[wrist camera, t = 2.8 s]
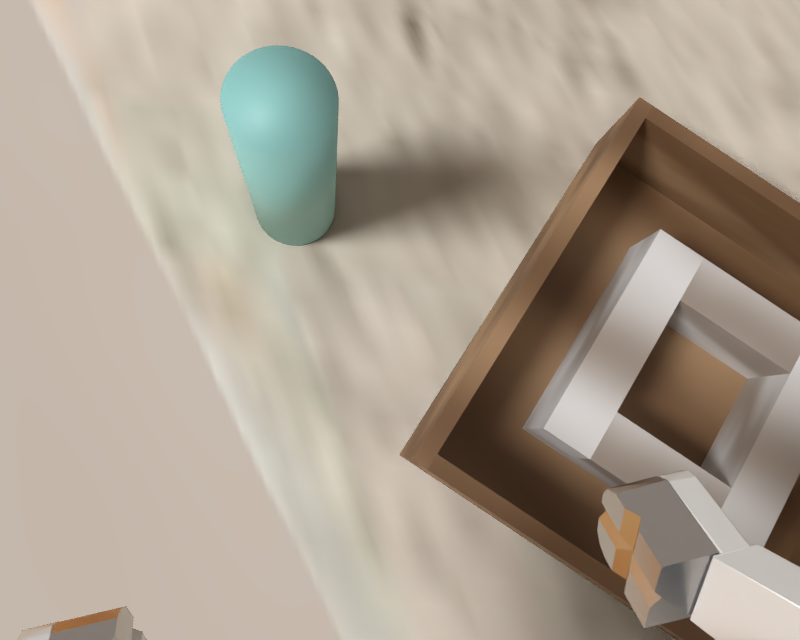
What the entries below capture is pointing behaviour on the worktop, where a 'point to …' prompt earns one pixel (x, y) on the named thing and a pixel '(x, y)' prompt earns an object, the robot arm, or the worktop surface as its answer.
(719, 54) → the worktop surface
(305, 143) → the peg
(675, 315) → the box
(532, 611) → the worktop surface
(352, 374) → the worktop surface
